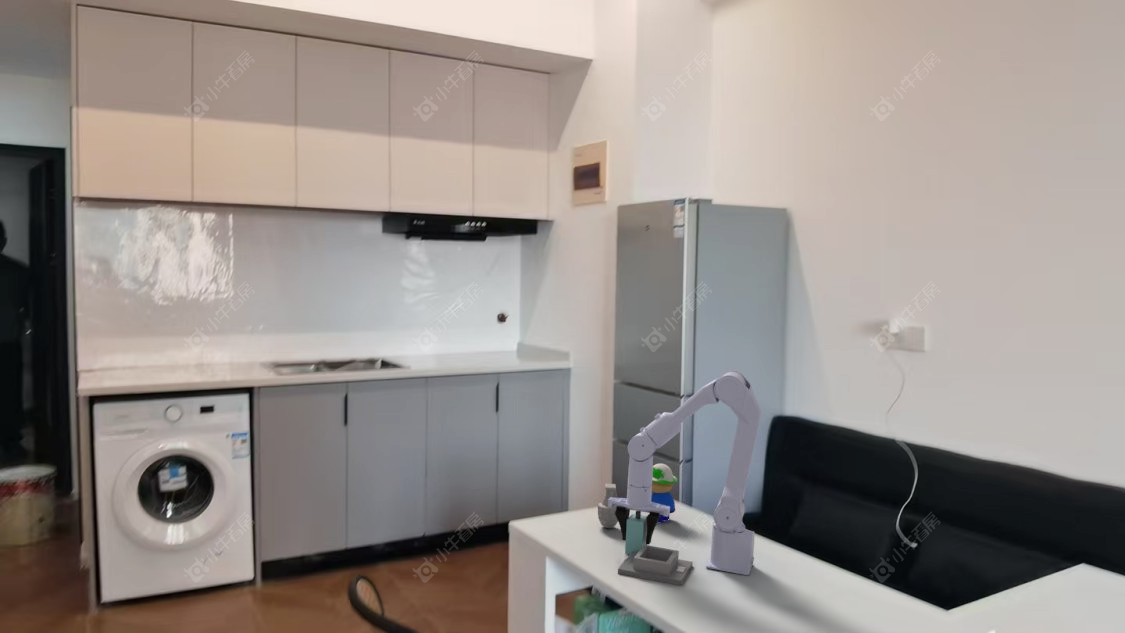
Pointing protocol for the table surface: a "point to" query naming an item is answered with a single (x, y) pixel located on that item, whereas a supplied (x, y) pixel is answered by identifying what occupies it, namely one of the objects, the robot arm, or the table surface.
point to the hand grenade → (608, 508)
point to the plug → (635, 532)
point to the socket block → (656, 565)
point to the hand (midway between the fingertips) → (636, 541)
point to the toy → (663, 487)
